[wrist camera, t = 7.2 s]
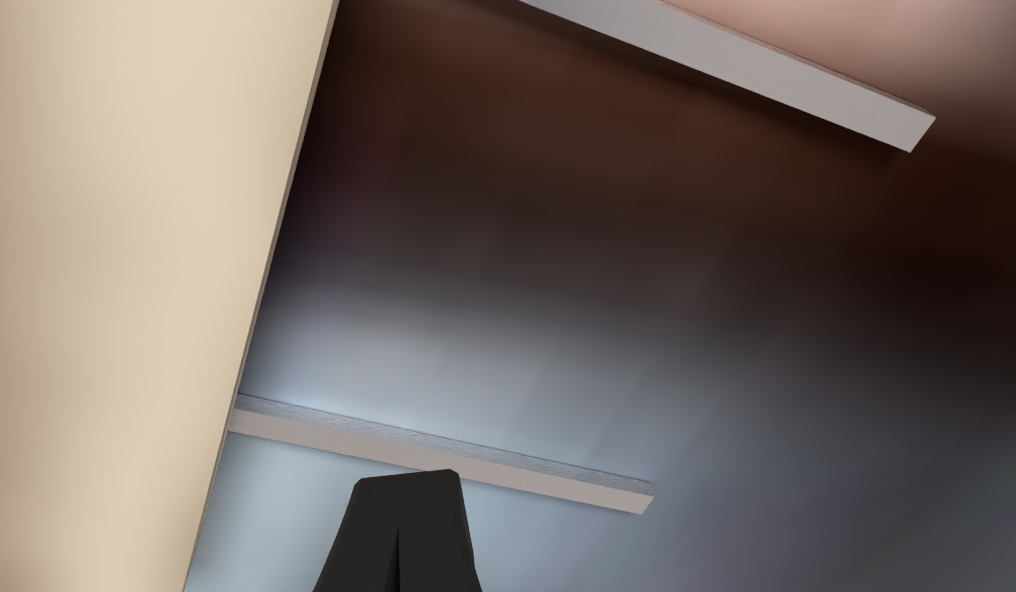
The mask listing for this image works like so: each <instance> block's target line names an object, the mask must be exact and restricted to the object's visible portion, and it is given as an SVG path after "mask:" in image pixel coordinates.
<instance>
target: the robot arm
mask: <svg viewBox="0 0 1016 592" xmlns="http://www.w3.org/2000/svg"><path fill="white" fill-rule="evenodd" d="M313 592H482V589H481V586H480V583H479V580H478V577H477V574H476V570H475V565H474V554H473V548H472V543H471V537H470V532H469V526H468V521H467V515H466V510H465V504H464V499H463V494H462V488H461V483H460V477H459V474H458V473H457V472H455V471H453V470H451V469H442V470H433V471H424V472H415V473H406V474H396V475H387V476H378V477H369V478H361V479H360V480H359V481H358V482H357V483H356V484H355V485H354V488H353V492H352V495H351V498H350V501H349V504H348V506H347V509H346V512H345V515H344V517H343V520H342V523H341V526H340V528H339V531H338V533H337V536H336V538H335V541H334V543H333V546H332V548H331V551H330V553H329V555H328V558H327V560H326V563H325V565H324V567H323V570H322V572H321V574H320V577H319V579H318V581H317V583H316V585H315V588H314V590H313Z"/></svg>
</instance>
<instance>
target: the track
mask: <svg viewBox="0 0 1016 592" xmlns="http://www.w3.org/2000/svg"><path fill="white" fill-rule="evenodd" d="M519 1H522V2H524V3H527V4H529V5H532V6H534V7H537V8H540V9H542V10H545V11H547V12H550V13H552V14H555V15H558V16H560V17H563V18H565V19H568V20H571V21H573V22H576V23H578V24H581V25H583V26H586V27H589V28H591V29H594V30H596V31H599V32H601V33H604V34H607V35H609V36H612V37H614V38H617V39H619V40H622V41H625V42H627V43H630V44H632V45H635V46H637V47H640V48H643V49H645V50H648V51H650V52H653V53H655V54H658V55H661V56H663V57H666V58H668V59H671V60H674V61H676V62H679V63H681V64H684V65H686V66H689V67H692V68H694V69H697V70H699V71H702V72H704V73H707V74H710V75H712V76H715V77H717V78H720V79H722V80H725V81H728V82H730V83H733V84H735V85H738V86H740V87H743V88H746V89H748V90H751V91H753V92H756V93H758V94H761V95H764V96H766V97H769V98H771V99H774V100H777V101H779V102H782V103H784V104H787V105H789V106H792V107H795V108H797V109H800V110H802V111H805V112H807V113H810V114H813V115H815V116H818V117H820V118H823V119H825V120H828V121H831V122H833V123H836V124H838V125H841V126H843V127H846V128H849V129H851V130H854V131H856V132H859V133H861V134H864V135H867V136H869V137H872V138H874V139H877V140H880V141H882V142H885V143H887V144H890V145H892V146H895V147H898V148H900V149H903V150H905V151H908V152H911V151H912V149H913V148H914V147H915V145H916V144H917V143H918V141H919V140H920V139H921V137H922V136H923V135H924V133H925V132H926V131H927V129H928V128H929V127H930V125H931V124H932V122H933V121H934V120H935V118H936V117H935V116H933V115H932V114H931V113H929V112H928V111H927V110H926V109H924V108H923V107H920V106H918V105H916V104H913V103H911V102H908V101H906V100H903V99H901V98H899V97H896V96H894V95H891V94H889V93H886V92H884V91H882V90H879V89H877V88H874V87H872V86H869V85H867V84H864V83H862V82H860V81H857V80H855V79H852V78H850V77H847V76H845V75H843V74H840V73H838V72H835V71H833V70H830V69H828V68H826V67H823V66H821V65H818V64H816V63H813V62H811V61H808V60H806V59H804V58H801V57H799V56H796V55H794V54H791V53H789V52H787V51H784V50H782V49H779V48H777V47H774V46H772V45H770V44H767V43H765V42H762V41H760V40H757V39H755V38H752V37H750V36H748V35H745V34H743V33H740V32H738V31H735V30H733V29H731V28H728V27H726V26H723V25H721V24H718V23H716V22H714V21H711V20H709V19H706V18H704V17H701V16H699V15H696V14H694V13H692V12H689V11H687V10H684V9H682V8H679V7H677V6H675V5H672V4H670V3H667V2H665V1H662V0H519ZM228 431H232V432H237V433H241V434H246V435H251V436H256V437H261V438H266V439H271V440H276V441H281V442H286V443H291V444H296V445H301V446H306V447H311V448H316V449H321V450H325V451H330V452H335V453H340V454H345V455H350V456H355V457H360V458H365V459H370V460H375V461H380V462H385V463H390V464H395V465H400V466H404V467H409V468H414V469H419V470H424V471H433V470H442V469H451V470H453V471H455V472H457V473H458V474H459V477H460V478H464V479H469V480H474V481H479V482H484V483H488V484H493V485H498V486H503V487H508V488H513V489H518V490H523V491H528V492H533V493H538V494H543V495H548V496H553V497H558V498H563V499H567V500H572V501H577V502H582V503H587V504H592V505H597V506H602V507H607V508H612V509H617V510H622V511H627V512H632V513H637V514H642V513H643V512H644V510H645V509H646V508H647V506H648V505H649V504H650V502H651V501H652V500H653V498H654V493H653V490H652V486H651V483H649V482H644V481H639V480H635V479H630V478H625V477H621V476H616V475H612V474H607V473H602V472H598V471H593V470H588V469H584V468H579V467H574V466H570V465H565V464H561V463H556V462H551V461H547V460H542V459H537V458H533V457H528V456H523V455H519V454H514V453H510V452H505V451H500V450H496V449H491V448H486V447H482V446H477V445H473V444H468V443H463V442H459V441H454V440H449V439H445V438H440V437H435V436H431V435H426V434H422V433H417V432H412V431H408V430H403V429H398V428H394V427H389V426H384V425H380V424H375V423H371V422H366V421H361V420H357V419H352V418H347V417H343V416H338V415H334V414H329V413H324V412H320V411H315V410H310V409H306V408H301V407H296V406H292V405H287V404H283V403H278V402H273V401H269V400H264V399H259V398H255V397H250V396H245V395H241V394H237V396H236V400H235V404H234V408H233V412H232V416H231V419H230V423H229V427H228Z"/></svg>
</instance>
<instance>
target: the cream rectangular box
mask: <svg viewBox="0 0 1016 592" xmlns="http://www.w3.org/2000/svg"><path fill="white" fill-rule="evenodd" d="M338 4H339V0H0V592H183V591H184V588H185V585H186V581H187V578H188V574H189V571H190V567H191V564H192V561H193V557H194V554H195V550H196V547H197V543H198V540H199V537H200V533H201V530H202V526H203V523H204V519H205V516H206V512H207V508H208V504H209V500H210V496H211V493H212V489H213V485H214V481H215V477H216V473H217V469H218V466H219V462H220V458H221V454H222V450H223V446H224V443H225V439H226V435H227V431H228V427H229V423H230V419H231V416H232V412H233V408H234V404H235V400H236V396H237V393H238V389H239V385H240V381H241V377H242V373H243V369H244V366H245V362H246V358H247V354H248V350H249V346H250V342H251V339H252V335H253V331H254V327H255V323H256V319H257V316H258V312H259V308H260V304H261V300H262V296H263V292H264V289H265V285H266V281H267V277H268V273H269V269H270V266H271V262H272V258H273V254H274V250H275V246H276V242H277V239H278V235H279V231H280V227H281V223H282V219H283V216H284V212H285V208H286V204H287V200H288V196H289V192H290V189H291V185H292V181H293V177H294V173H295V169H296V166H297V162H298V158H299V154H300V150H301V146H302V142H303V139H304V135H305V131H306V127H307V123H308V119H309V116H310V112H311V108H312V104H313V100H314V96H315V92H316V89H317V85H318V81H319V77H320V73H321V69H322V65H323V62H324V58H325V54H326V50H327V46H328V42H329V39H330V35H331V31H332V27H333V23H334V19H335V15H336V12H337V8H338Z"/></svg>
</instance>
